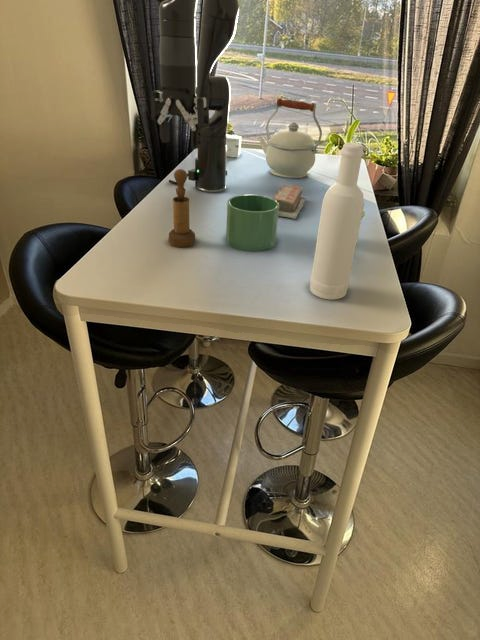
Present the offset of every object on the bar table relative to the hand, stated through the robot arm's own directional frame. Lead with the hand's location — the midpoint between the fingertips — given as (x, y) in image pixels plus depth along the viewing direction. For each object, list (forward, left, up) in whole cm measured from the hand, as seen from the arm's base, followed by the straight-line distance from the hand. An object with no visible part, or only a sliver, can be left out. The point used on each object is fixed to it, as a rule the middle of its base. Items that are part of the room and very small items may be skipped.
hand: (180, 145), depth 102 cm
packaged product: (+8, +40, -24) cm, 47 cm away
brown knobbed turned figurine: (0, 0, -24) cm, 24 cm away
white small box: (-40, +82, -23) cm, 94 cm away
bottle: (+40, 0, -24) cm, 46 cm away
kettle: (-11, +75, -24) cm, 79 cm away
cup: (+13, +12, -23) cm, 29 cm away
